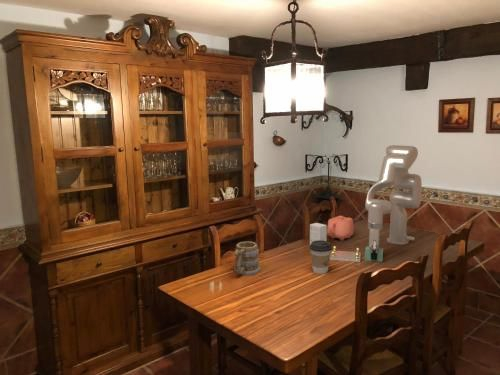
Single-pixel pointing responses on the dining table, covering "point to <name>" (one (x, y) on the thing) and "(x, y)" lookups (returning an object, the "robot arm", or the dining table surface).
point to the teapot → (340, 227)
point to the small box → (318, 232)
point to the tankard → (247, 258)
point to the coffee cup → (320, 256)
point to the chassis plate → (345, 255)
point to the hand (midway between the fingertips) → (373, 257)
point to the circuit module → (368, 254)
